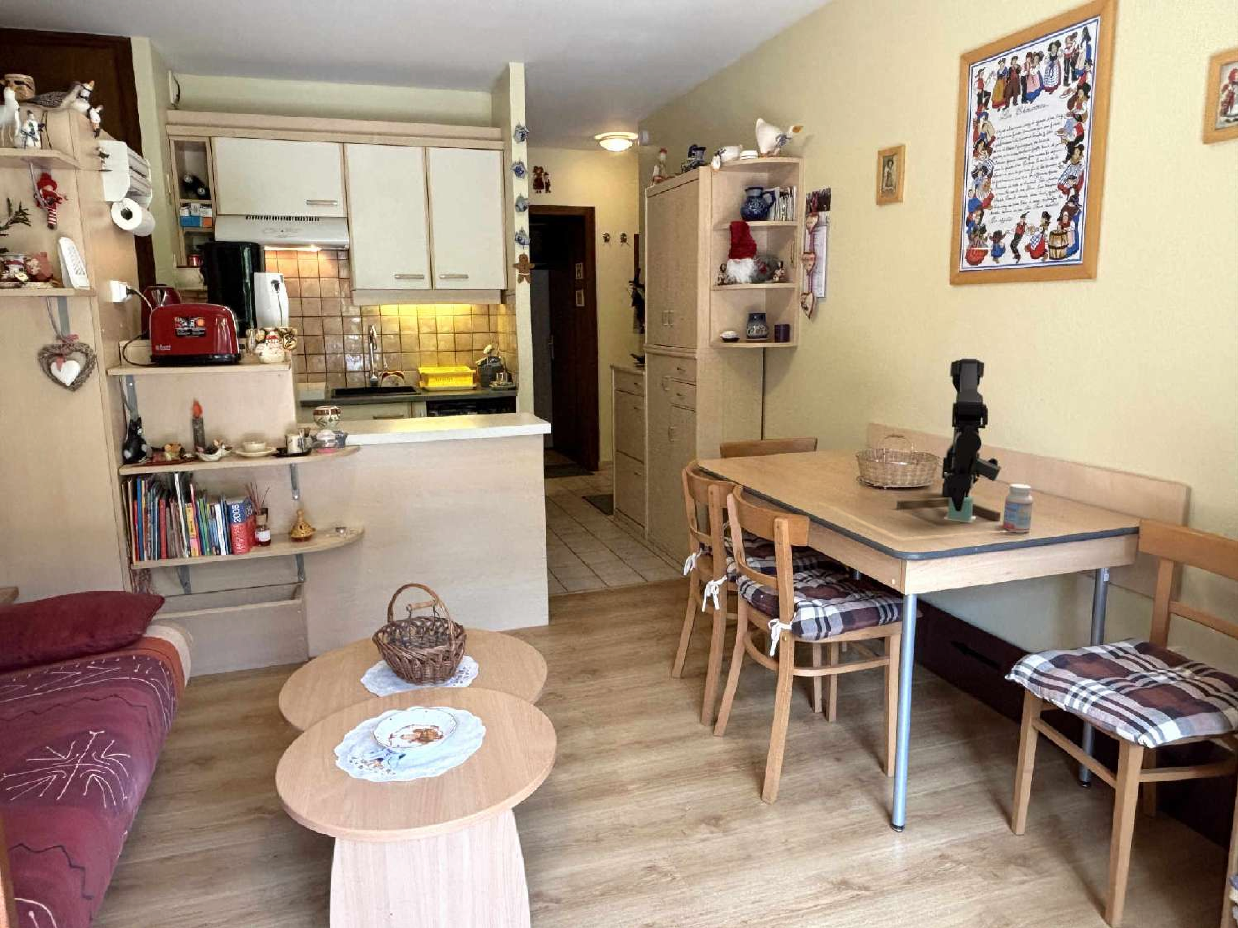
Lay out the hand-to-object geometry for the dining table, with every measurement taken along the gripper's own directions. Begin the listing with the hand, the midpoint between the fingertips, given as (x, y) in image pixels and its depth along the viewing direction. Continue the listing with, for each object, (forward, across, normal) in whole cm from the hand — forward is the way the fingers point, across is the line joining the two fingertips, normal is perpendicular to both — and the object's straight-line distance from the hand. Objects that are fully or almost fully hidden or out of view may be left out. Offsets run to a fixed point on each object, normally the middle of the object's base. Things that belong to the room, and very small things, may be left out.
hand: (960, 508), depth 212 cm
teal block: (+2, 0, 0) cm, 2 cm away
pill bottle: (+4, -2, -14) cm, 14 cm away
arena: (+3, +2, +4) cm, 5 cm away
